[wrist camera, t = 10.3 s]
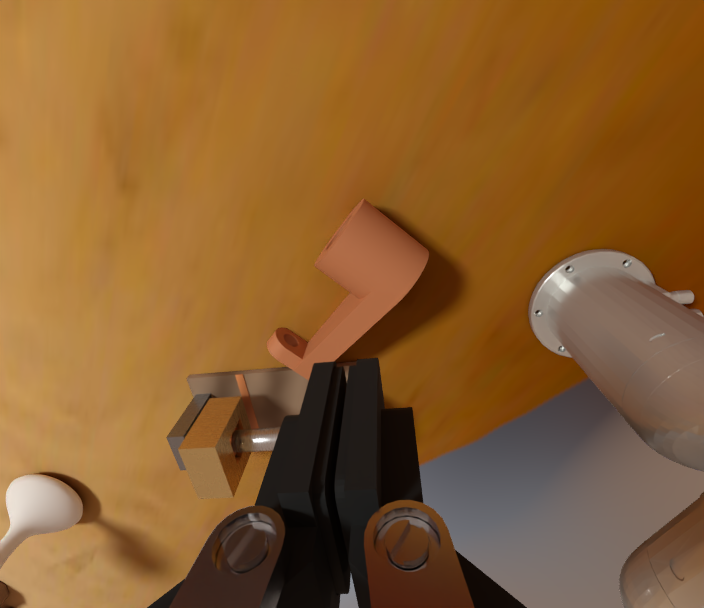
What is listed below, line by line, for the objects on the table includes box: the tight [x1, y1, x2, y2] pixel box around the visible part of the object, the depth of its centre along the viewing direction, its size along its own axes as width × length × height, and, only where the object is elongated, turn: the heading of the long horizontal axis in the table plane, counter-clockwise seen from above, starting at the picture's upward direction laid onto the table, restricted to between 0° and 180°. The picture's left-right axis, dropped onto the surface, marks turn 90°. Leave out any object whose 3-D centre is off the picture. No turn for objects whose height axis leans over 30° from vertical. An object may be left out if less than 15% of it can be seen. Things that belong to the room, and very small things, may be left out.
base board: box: [187, 362, 357, 429], centre depth 50 cm, size 22×10×1 cm, turn 98°
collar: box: [178, 396, 251, 499], centre depth 45 cm, size 4×7×8 cm, turn 8°
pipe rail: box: [166, 393, 280, 470], centre depth 47 cm, size 21×5×8 cm, turn 98°
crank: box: [267, 199, 429, 380], centre depth 40 cm, size 20×8×8 cm, turn 143°
